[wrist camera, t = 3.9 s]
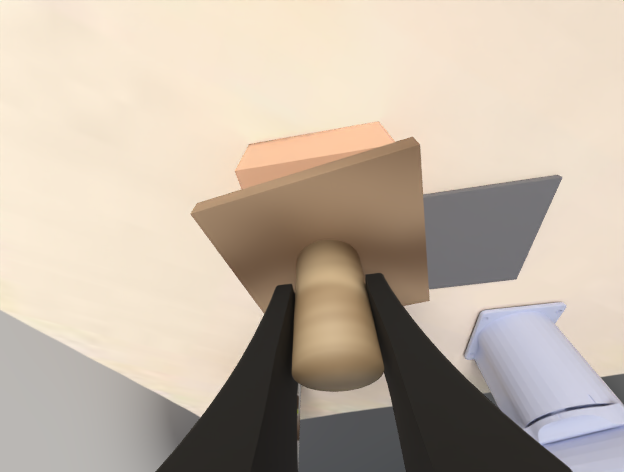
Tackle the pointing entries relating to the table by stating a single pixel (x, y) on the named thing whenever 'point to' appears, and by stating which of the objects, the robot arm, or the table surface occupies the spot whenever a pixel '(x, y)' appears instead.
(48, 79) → the table surface
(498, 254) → the mat
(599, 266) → the table surface
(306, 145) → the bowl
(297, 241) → the lid
